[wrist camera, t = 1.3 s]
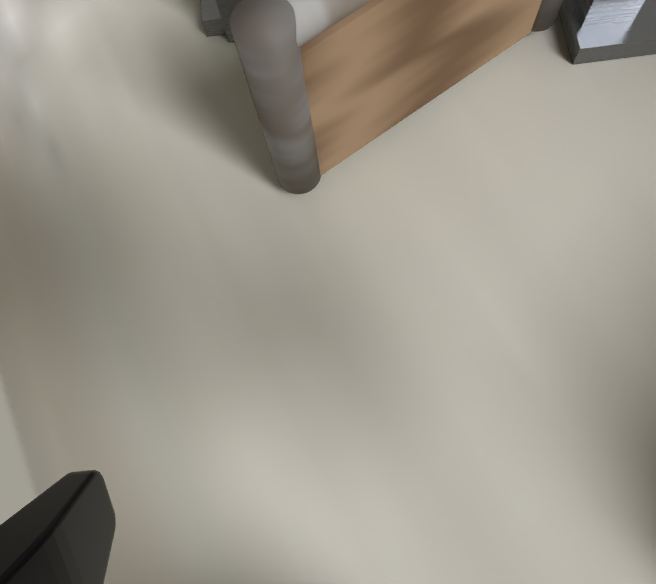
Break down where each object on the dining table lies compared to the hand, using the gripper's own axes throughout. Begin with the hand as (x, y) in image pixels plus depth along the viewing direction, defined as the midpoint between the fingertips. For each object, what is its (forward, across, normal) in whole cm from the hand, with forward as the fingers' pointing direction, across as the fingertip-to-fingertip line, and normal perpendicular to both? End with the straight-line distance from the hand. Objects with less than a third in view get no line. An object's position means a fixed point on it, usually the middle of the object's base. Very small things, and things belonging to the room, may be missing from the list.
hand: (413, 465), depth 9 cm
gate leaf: (+20, -3, -3) cm, 21 cm away
